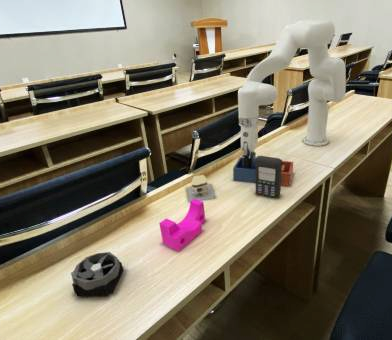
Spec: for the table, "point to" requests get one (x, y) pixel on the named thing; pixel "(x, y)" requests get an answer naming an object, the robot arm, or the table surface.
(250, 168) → the slate bin
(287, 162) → the terracotta bin
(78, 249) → the table surface
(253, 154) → the slate block
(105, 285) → the cpu cooler
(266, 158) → the card reader
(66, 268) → the table surface
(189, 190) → the stacked layers on plate
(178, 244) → the toy block
